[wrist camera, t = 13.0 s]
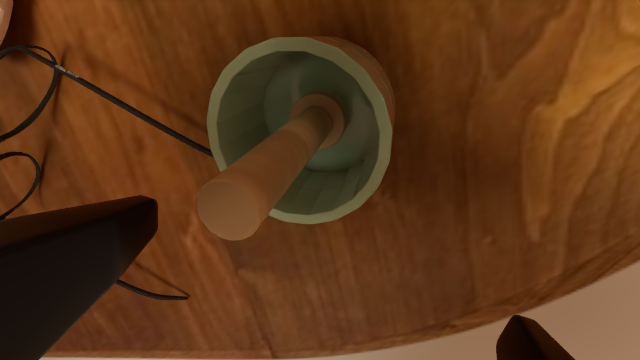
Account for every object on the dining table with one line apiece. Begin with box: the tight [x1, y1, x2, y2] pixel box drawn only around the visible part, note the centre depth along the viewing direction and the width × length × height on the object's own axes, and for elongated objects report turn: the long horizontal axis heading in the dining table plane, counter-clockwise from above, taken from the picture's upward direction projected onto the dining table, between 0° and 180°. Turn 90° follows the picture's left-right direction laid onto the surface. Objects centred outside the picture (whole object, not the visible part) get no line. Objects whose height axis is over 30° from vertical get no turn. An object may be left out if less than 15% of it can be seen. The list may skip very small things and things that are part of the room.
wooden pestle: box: [196, 89, 349, 240], centre depth 14 cm, size 3×3×12 cm
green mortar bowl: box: [206, 36, 396, 224], centre depth 17 cm, size 8×8×6 cm
